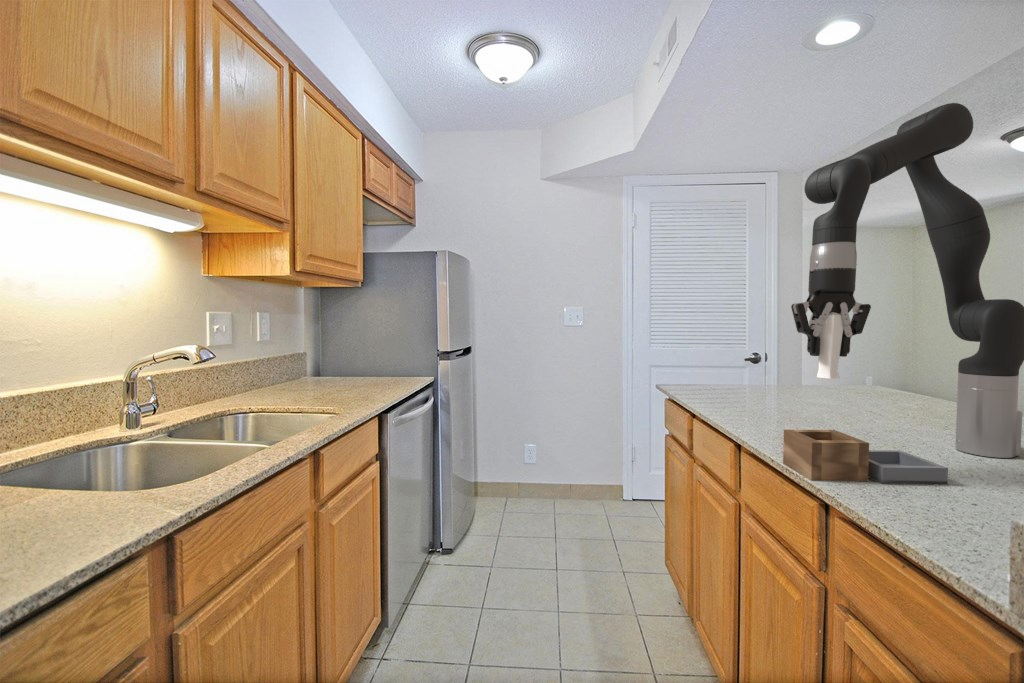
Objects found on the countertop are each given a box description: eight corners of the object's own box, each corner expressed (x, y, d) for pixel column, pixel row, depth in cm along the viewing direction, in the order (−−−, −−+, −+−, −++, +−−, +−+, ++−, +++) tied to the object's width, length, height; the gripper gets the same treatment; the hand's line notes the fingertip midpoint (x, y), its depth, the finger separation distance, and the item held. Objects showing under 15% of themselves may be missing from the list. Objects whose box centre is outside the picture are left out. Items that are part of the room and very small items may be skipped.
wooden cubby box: (833, 463, 95) (834, 429, 95) (868, 480, 85) (869, 443, 85) (783, 463, 96) (783, 429, 95) (811, 480, 86) (812, 442, 85)
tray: (899, 465, 94) (900, 450, 94) (947, 484, 83) (948, 468, 83) (843, 464, 95) (843, 450, 94) (882, 483, 84) (883, 467, 83)
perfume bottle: (817, 378, 90) (821, 300, 90) (810, 375, 94) (814, 301, 94) (845, 379, 89) (849, 300, 88) (836, 376, 93) (841, 301, 92)
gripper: (858, 270, 94) (853, 355, 95) (784, 270, 95) (780, 353, 96) (885, 266, 86) (879, 358, 87) (804, 265, 87) (799, 356, 88)
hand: (827, 355), depth 91 cm, fingers closed on perfume bottle, 4 cm apart
